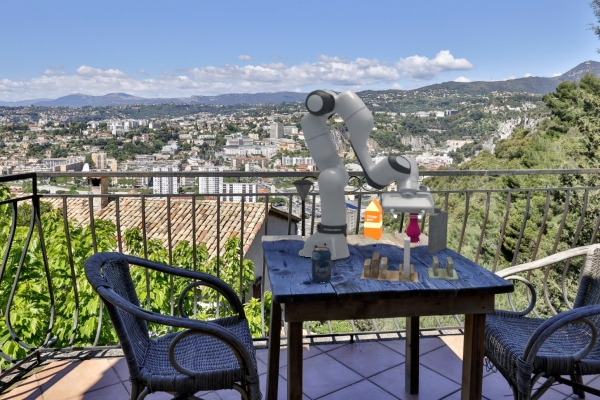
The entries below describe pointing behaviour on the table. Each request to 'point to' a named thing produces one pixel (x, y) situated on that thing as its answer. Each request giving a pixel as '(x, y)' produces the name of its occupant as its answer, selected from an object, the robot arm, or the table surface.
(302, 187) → the solar garden light
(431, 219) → the hip flask
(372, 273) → the rack
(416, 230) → the pepper mill
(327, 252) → the soda can
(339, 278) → the table surface
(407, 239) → the light grey flat bar
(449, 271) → the stand
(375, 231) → the orange juice
